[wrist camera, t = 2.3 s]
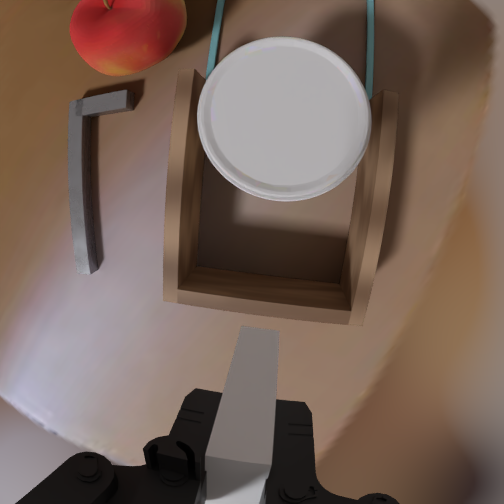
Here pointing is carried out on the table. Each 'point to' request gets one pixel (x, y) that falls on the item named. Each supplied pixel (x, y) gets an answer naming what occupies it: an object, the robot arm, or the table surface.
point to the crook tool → (87, 170)
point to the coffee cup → (284, 118)
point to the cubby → (264, 286)
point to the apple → (127, 33)
